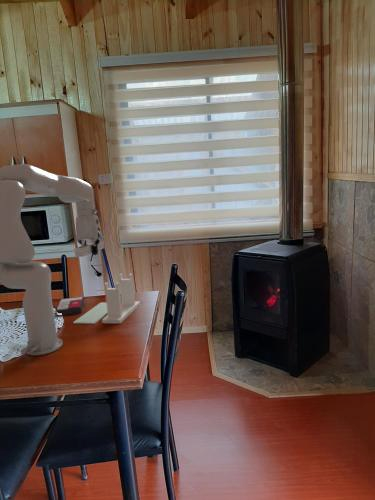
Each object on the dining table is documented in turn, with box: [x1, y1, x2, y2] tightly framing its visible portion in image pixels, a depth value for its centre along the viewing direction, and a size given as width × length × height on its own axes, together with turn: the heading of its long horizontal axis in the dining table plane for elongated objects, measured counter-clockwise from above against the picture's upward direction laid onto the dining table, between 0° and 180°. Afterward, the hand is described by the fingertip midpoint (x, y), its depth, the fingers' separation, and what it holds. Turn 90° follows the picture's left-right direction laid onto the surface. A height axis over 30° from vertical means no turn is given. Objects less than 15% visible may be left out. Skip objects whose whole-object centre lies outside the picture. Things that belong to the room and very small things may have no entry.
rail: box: [74, 240, 105, 258], centre depth 158 cm, size 20×4×4 cm, turn 167°
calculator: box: [55, 296, 85, 316], centre depth 171 cm, size 11×4×15 cm
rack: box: [101, 273, 141, 324], centre depth 159 cm, size 24×8×16 cm, turn 167°
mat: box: [72, 301, 108, 325], centre depth 164 cm, size 26×10×1 cm, turn 167°
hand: (91, 254), depth 159 cm, fingers closed on rail, 3 cm apart
